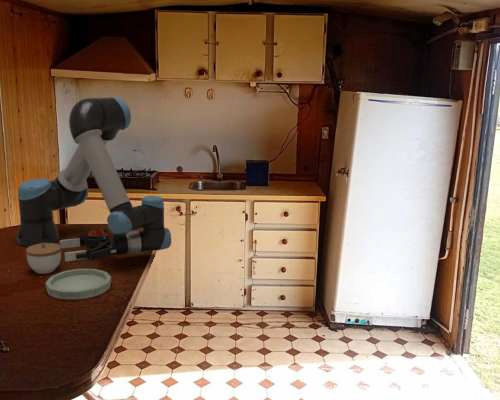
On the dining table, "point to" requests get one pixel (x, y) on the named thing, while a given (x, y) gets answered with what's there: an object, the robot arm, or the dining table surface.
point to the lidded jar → (44, 257)
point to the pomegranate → (97, 232)
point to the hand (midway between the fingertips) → (62, 250)
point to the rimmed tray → (78, 284)
